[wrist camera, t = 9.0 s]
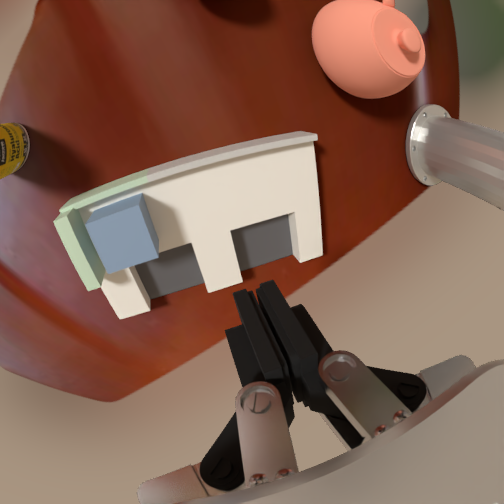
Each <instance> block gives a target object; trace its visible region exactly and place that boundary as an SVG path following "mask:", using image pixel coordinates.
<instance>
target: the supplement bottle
mask: <svg viewBox="0 0 504 504" xmlns="http://www.w3.org/2000/svg"><path fill="white" fill-rule="evenodd" d="M29 149H30V141H29V136H28V133H27V131H26V129H25V128H24V127H23V126H22V125H20V124H18V123H5V124H0V179H2V178H4V177H6V176H8V175H10V174H12V173H14V172H16V171H17V170H19V169H20V168H21V167H22V166H23V164H24V163H25V161H26V159H27V157H28V154H29Z"/></svg>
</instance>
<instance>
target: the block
mask: <svg viewBox="0 0 504 504" xmlns="http://www.w3.org/2000/svg"><path fill="white" fill-rule="evenodd" d="M85 226H86V228H87V231H88V233H89V235H90V237H91V240H92V242H93V244H94V246H95V248H96V250H97V253H98V255H99V257H100V259H101V261H102V263H103V265H104V267H105V269H106V271H107V273H108V274H110V273H113V272H116V271H119V270H122V269H125V268H128V267H131V266H134V265H137V264H141V263H144V262H147V261H150V260H153V259H156V258H159V239H158V236H157V233H156V231H155V228H154V225H153V222H152V220H151V217H150V214H149V211H148V208H147V205H146V202H145V199H144V196H143V193H140V194H137V195H134V196H131V197H129V198H126V199H123V200H120V201H118V202H115V203H112V204H110V205H107V206H104V207H102V208H99V209H97V210H94V212H93V213H92V215H91V216H90V218H89V219H88V221H87V222H86V224H85Z"/></svg>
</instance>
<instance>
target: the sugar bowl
mask: <svg viewBox="0 0 504 504" xmlns="http://www.w3.org/2000/svg"><path fill="white" fill-rule="evenodd" d="M394 6H395V0H383V3H380V2H378V1H374V0H336V1H333V2H331V3H329V4H327V5H325V6H324V7H323V8H322V9H321V10H320V11H319V12H318V14H317V16H316V18H315V20H314V23H313V27H312V44H313V48H314V52H315V55H316V58H317V60H318V62H319V64H320V66H321V67H322V69H323V71H324V72H325V73H326V75H327V76H328V77H329V78H330V79H331V80H332V81H333V82H334V83H335V84H336V85H337V86H338V87H340V88H341V89H342V90H344V91H346V92H348V93H349V94H351V95H354V96H356V97H360V98H367V99H375V98H382V97H387V96H390V95H393V94H395V93H398V92H399V91H401V90H403V89H404V88H405V87H407V86H408V85H409V84H410V83H411V82H412V81H413V80H414V79H415V78H416V77H417V76H418V74H419V73H420V72H421V70H422V68H423V66H424V62H425V48H424V43H423V40H422V37H421V35H420V33H419V31H418V29H417V27H416V26H415V25H414V23H413V22H412V21H411V20H410V19H409V18H408V17H407V16H406V15H405V14H403V13H402V12H400V11H398V10H397V9H395V8H394Z"/></svg>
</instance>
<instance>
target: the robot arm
mask: <svg viewBox="0 0 504 504" xmlns="http://www.w3.org/2000/svg"><path fill="white" fill-rule="evenodd" d="M406 156H407V161H408V166H409V168H410V170H411V173H412V174H413V176H414V177H415V178H416V179H417V180H418V181H419V182H421V183H423V184H426V185H431V186H433V185H436V184H438V183H440V182H441V181H444V182H446V183H449V184H451V185H453V186H455V187H457V188H460V189H462V190H464V191H466V192H468V193H470V194H472V195H474V196H477V197H478V198H481V199H482V200H484V201H486V202H488V203H490V204H492V205H494V206H496V207H497V208H499V209H502V210H503V211H504V132H500V131H497V130H494V129H491V128H488V127H484V126H480V125H477V124H473V123H469V122H465V121H461V120H457V119H453V118H451V117H450V115H449V114H448V112H447V111H446V110H445V109H444V108H442V107H440V106H438V105H433V104H427V105H424V106H422V107H421V108H419V109H418V110H417V111H416V112H415V114H414V116H413V117H412V119H411V122H410V124H409V127H408V131H407V137H406ZM256 293H257V297H258V302H259V304H258V302H257V300H256V298H255V296H254V294H253V291H249V292H247V290H246V289H243V290H240V291H237V292H234V293H233V296H234V300H235V303H236V306H237V309H238V313H239V316H240V319H241V322H242V325H239V326H236V327H233V328H230V329H227V330H225V333H226V336H227V339H228V342H229V346H230V349H231V352H232V356H233V359H234V362H235V365H236V368H237V371H238V375H239V378H240V381H241V384H242V387H243V388H242V389H241V390H240V391H239V392H238V394H237V396H236V401H235V406H236V412H235V413H234V415H233V417H232V418H231V420H230V421H229V423H228V424H227V425H226V427H225V428H224V430H223V431H222V433H221V434H220V436H219V437H218V438H217V440H216V441H215V443H214V444H213V446H212V447H211V448H210V450H209V451H208V453H207V454H206V455H205V457H204V458H203V460H202V462H199V463H197V464H195V465H188V466H185V467H183V468H180V469H178V470H175V471H173V472H170V473H167V474H165V475H162V476H159V477H156V478H153V479H150V480H147V481H145V482H143V483H142V484H141V485H140V486H139V488H138V491H137V496H138V500H139V502H140V504H504V360H495V361H491V362H488V363H486V364H483V365H481V366H479V367H477V368H476V367H475V365H474V363H473V362H472V360H471V359H470V358H468V357H466V356H463V355H459V356H455V357H453V358H451V359H448V360H446V361H444V362H441V363H439V364H436V365H434V366H431V367H429V368H426V369H424V370H421V371H420V373H419V374H416V375H413V374H409V373H403V372H397V371H391V370H385V369H380V368H374V367H369V366H365V364H364V363H363V362H362V361H360V359H359V358H358V357H357V356H355V355H354V354H352V353H350V352H347V351H340V350H339V351H333V350H332V348H331V347H330V345H329V344H328V342H327V341H326V339H325V338H324V336H323V335H322V333H321V332H320V330H319V329H318V327H317V326H316V324H315V323H314V321H313V319H312V318H311V317H310V315H309V314H308V312H307V310H306V309H305V307H304V306H303V305H302V304H299V305H297V306H294V307H291V308H290V307H289V305H288V303H287V302H286V300H285V298H284V297H283V295H282V293H281V292H280V290H279V288H278V287H277V285H276V283H275V282H274V280H270V281H267V282H264V283H261V284H260V288H258V289H256ZM292 392H293V394H294V396H295V398H296V400H297V402H301V401H303V403H304V405H305V407H307V406H309V408H310V410H312V411H315V412H318V413H319V414H320V415H321V417H322V418H323V420H324V421H325V422H326V423H327V425H328V426H329V427H330V429H331V430H332V431H333V433H334V434H335V435H336V436H337V438H338V439H339V440H340V441H341V442H342V444H343V445H344V446H345V448H346V449H347V450H348V452H346V453H344V454H341V455H339V456H337V457H335V458H333V459H331V460H328V461H326V462H324V463H321V464H319V465H317V466H314V467H311V468H309V469H306V470H304V471H301V472H299V471H298V466H297V462H296V458H295V454H294V449H293V445H292V441H291V437H290V432H289V427H290V425H291V423H292V421H293V419H294V417H295V416H294V410H293V404H294V401H293V395H292Z"/></svg>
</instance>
